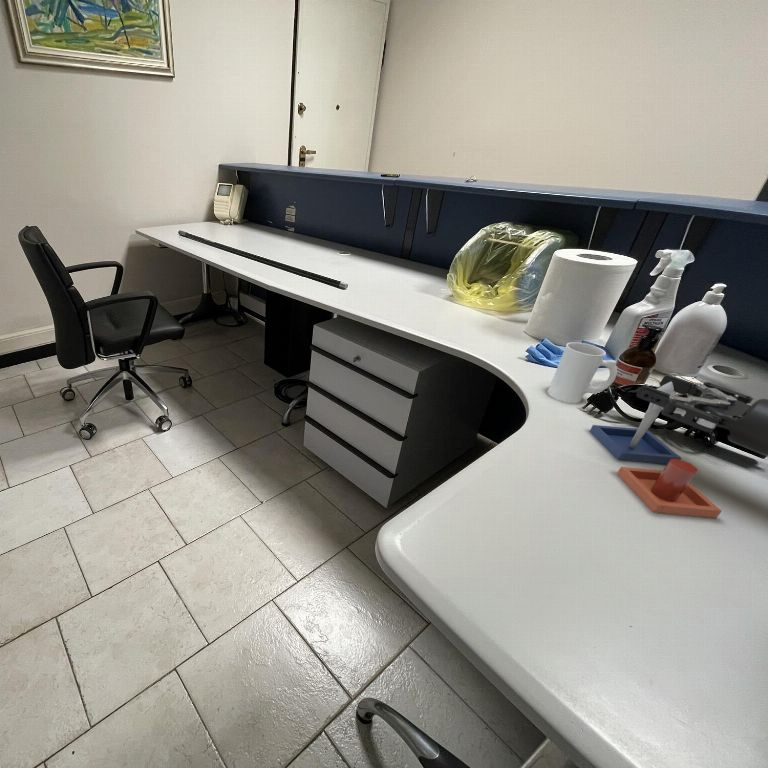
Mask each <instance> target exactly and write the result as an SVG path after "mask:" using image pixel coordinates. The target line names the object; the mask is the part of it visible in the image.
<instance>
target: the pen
mask: <svg viewBox="0 0 768 768" xmlns="http://www.w3.org/2000/svg"><path fill="white" fill-rule="evenodd" d="M656 389H657V390H660V391H663V392H665V393H668V394H671V395H673V396H676V395H675V391H674V388H673V383H672V382H669V383H667V384H665V385H663V386H660V387H657V388H656ZM662 411H663V409H662V407H661V406H658V405H656V404H653V403H651V402H649V405H648V408H647V410H646V411H645V413H644V415H643V417H642V419H641V422H640V424H639V426H638V430H637V432H636V434H635V436H634V437H633V439H632V441H631V443H630V446H629V447H630V448H632V449H634V448H635V447H636V446H637V444H638V443H639V441H640V440H641V438H642V437H643V435H644V434H645V432H646V431H647V430H648V431H649V428H650V427H651V425H653V423H654V422H655V421H656V419H657V418H658V416H659V415H660V413H662Z"/></svg>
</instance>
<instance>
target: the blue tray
mask: <svg viewBox="0 0 768 768" xmlns="http://www.w3.org/2000/svg"><path fill="white" fill-rule="evenodd" d="M638 428H639V427H638ZM638 428H637V427H624V426H611V425H598V424H592V425H591V428H590V430H589V433H590V434H592V436H594V438H595V439H596V440H597V441H598V442H600V444H601V445H602V446H603V447H604V448H605V449H606V450H607V451H608V452H609V453H610V454H611V455H612V456H613V457H614V458H615V459H616V460H617V461H623V462H636V463H637V462H639V463H647V464H648V463H649V464H660V465H667V464H668V462H669V461H670V460H671V459H680V460H682V457H681V456H680V455H679V454H677V453H676V452H675V451H674V450H672V449H671V448H670V447H669V446H668V445H666V444H665V443H664V442H663V441H662V440H660V439H659V438H658V437H657V436H656V435H654V434H653V433H652V432H651V431H650V430H649V429H648V430H647V431H646V432H645V434H644V435H643V437H642V438H641V440H640V441H639V443H638V444H637V446H636V447H635V448H634V449H632V448H630V447H629V446H630V443H631V441H632V439H633V437H634V436H635V434H636V432H637V430H638Z"/></svg>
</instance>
